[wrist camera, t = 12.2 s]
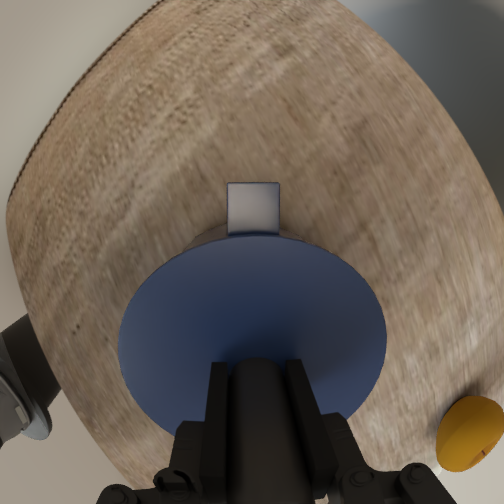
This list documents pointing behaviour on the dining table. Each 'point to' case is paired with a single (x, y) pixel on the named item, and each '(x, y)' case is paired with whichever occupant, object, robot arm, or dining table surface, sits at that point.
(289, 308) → the lid
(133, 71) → the dining table surface
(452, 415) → the apple
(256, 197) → the pot
